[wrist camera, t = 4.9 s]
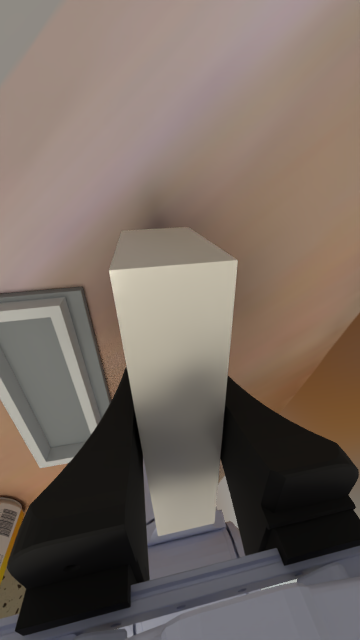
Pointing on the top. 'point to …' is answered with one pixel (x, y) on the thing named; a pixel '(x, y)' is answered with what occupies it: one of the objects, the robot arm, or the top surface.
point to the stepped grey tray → (51, 371)
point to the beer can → (8, 529)
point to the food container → (10, 595)
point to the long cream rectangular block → (176, 363)
